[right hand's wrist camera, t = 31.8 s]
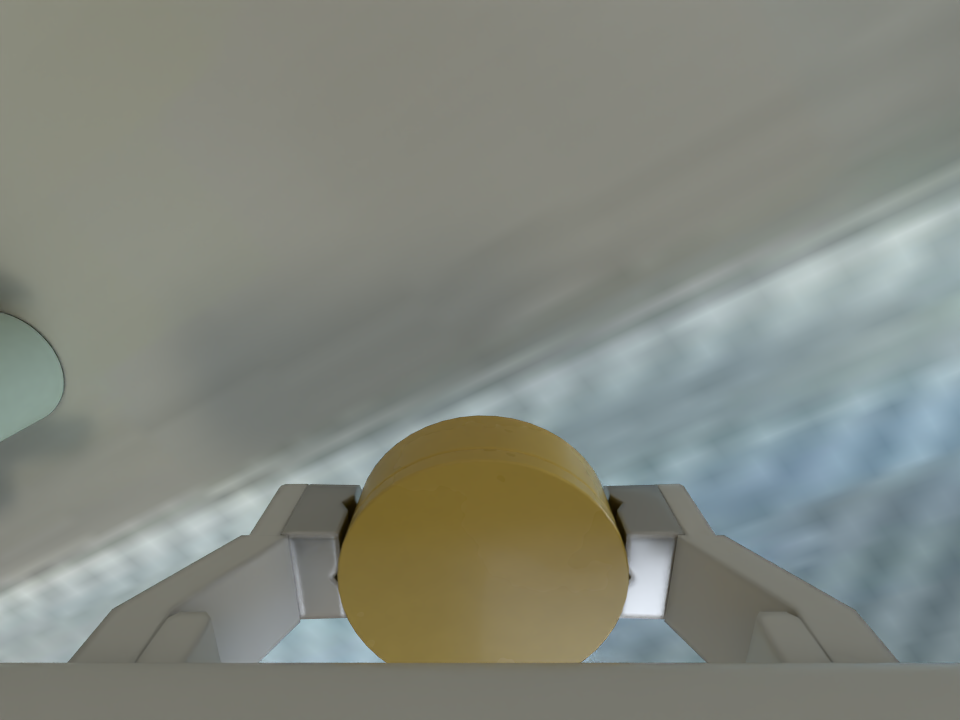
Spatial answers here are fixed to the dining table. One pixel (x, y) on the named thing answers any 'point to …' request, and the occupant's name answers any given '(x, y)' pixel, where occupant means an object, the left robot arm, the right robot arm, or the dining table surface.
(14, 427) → the mint green bottle
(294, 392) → the dining table surface
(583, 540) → the lid
